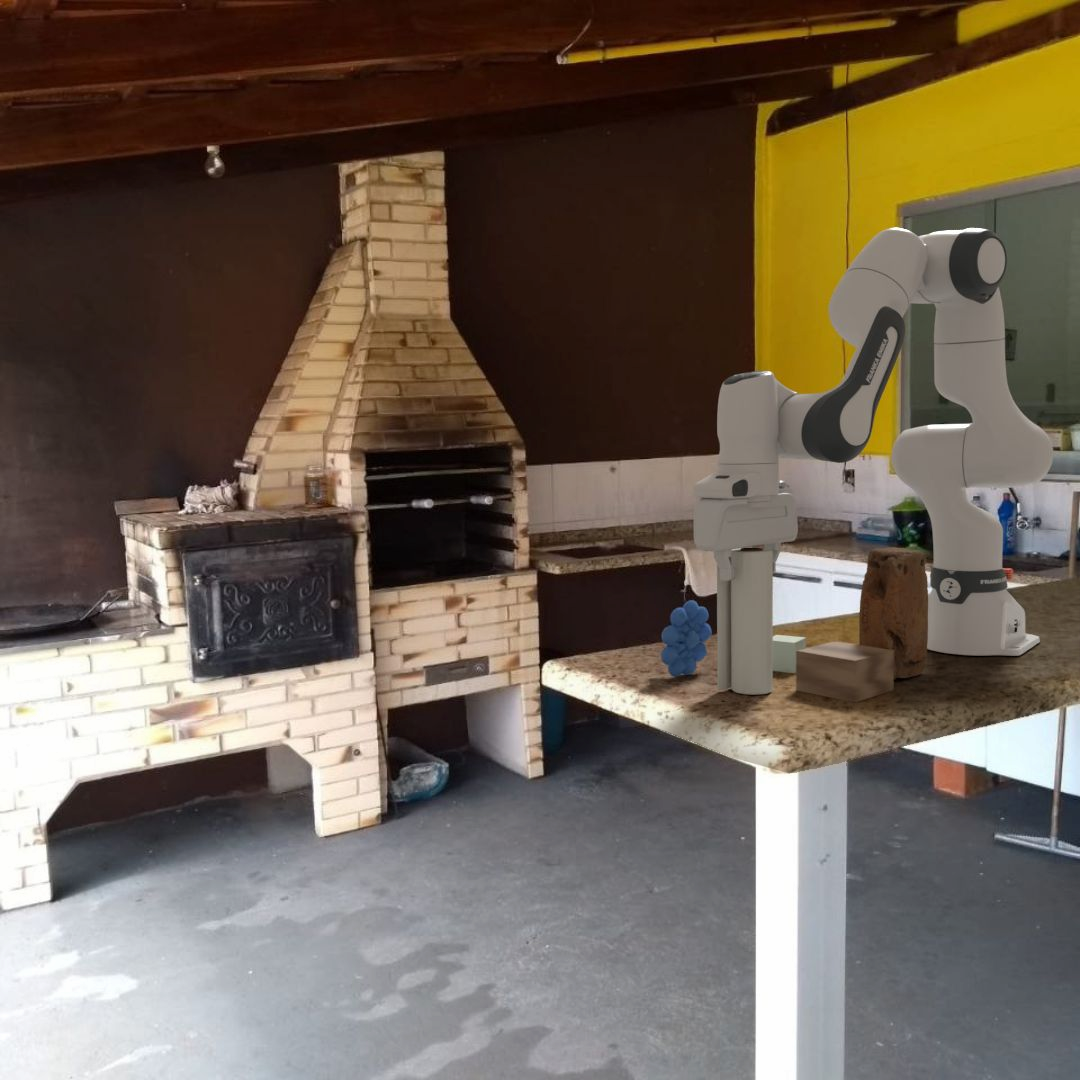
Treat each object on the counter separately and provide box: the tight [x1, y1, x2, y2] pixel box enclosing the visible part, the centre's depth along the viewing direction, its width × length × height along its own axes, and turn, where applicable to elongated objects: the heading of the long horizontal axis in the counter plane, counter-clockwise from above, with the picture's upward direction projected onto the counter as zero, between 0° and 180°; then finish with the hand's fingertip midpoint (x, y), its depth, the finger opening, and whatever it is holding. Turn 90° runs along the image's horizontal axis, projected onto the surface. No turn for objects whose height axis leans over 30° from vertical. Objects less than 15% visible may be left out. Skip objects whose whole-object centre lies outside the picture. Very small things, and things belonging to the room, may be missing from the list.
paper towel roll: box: [716, 547, 774, 696], centre depth 156 cm, size 7×6×21 cm
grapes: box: [660, 599, 713, 678], centre depth 167 cm, size 12×7×12 cm, turn 134°
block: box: [858, 546, 929, 680], centre depth 163 cm, size 11×8×20 cm
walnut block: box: [795, 640, 894, 703], centre depth 155 cm, size 10×10×6 cm
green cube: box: [773, 634, 807, 674], centre depth 171 cm, size 5×5×5 cm
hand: (748, 576), depth 155 cm, fingers open, 8 cm apart
